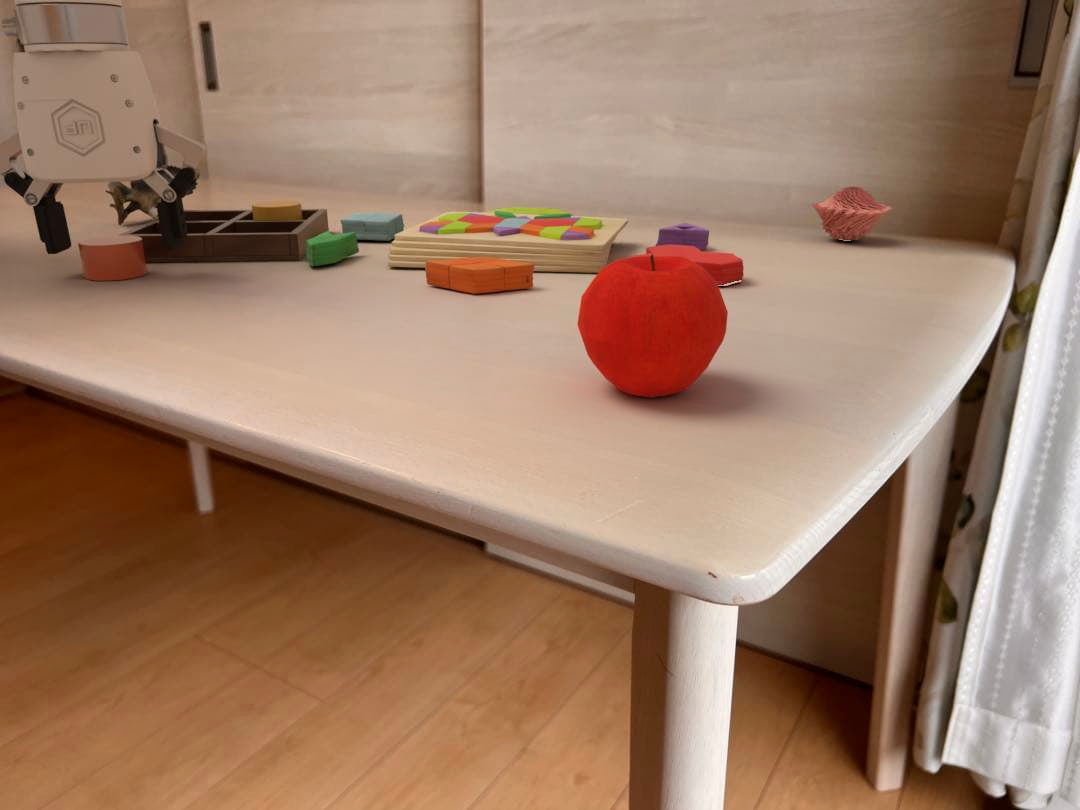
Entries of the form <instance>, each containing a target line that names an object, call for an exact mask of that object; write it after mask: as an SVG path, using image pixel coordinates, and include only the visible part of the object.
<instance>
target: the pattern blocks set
mask: <svg viewBox="0 0 1080 810" xmlns="http://www.w3.org/2000/svg"><path fill="white" fill-rule="evenodd" d="M628 223H629V219H628V218H625V217H624V218H623V217H604V216H583V215H581V216H579V215H574V214H573V213H570V212H567V211H564V210H561V209H559V208H555V207H553V208H552V207H520V206H519V207H515V206H508V207H503V208H497V209H493V210H487V211H482V212H481V211H447V212H444V213H441V214H439V215H437V216H435V217H431V218H430V219H427V220H426V221H423V222H421V223H418V224H416V225H414V226H412V227H408V228H406V229H404V228H405V223H404V219H403V214H402V213H392V212H391V213H387V212H380V213H379V212H369V211H368V212H366V211H357V212H355V213H353V214H350V215H348V216H346V217H343V218H341V219H340V224H341V231H342V233H339V234H333V233H331V231H330V230H329V231H327V232H324V233H322V234H319V235H318V236H316V237H314V238H311V239H309V240H307V241H306V244H307V254H306V262H307V263H308V264H309V265H310V266H311V267H319V266H324V265H330V264H331V265H332V264H336V263H338V262H340V261H342V260H344V259H346V258H347V257H352V256H353V255H355V254H358V253H359V252H360V248H359V244H358V240H366V241H385V242H388V241H391V240H392V239H394V240H393V241H391V247H390V248H389V254H388V261H387V266H388V267H391V268H414V269H415V268H417V269H425V270H424V271H425V278H426V284H427V285H428V286H434V287H439V288H444V289H450V290H453V291H457V292H463V293H469V294H474V295H475V294H476V295H477V294H486V293H499V292H503V291H504V292H505V291H515V290H524V289H526V290H527V289H532V288H533V286H534V272H547V273H548V272H551V273H553V272H554V273H555V272H556V273H560V272H561V273H590V274H592V273H593V274H598V273H599V272H600V270H601V269H602V268H603V267H605V266H607V265H608V260H609V255H610V252H611V247H612V245H613V243H614V242H615V240H616V238H617V236H618V235H619V234H620V233H621V232H622V231H623V229H624V228H625V227H626V226H627V225H628ZM709 237H710V230H709V229H706V228H703V227H702V226H698V225H694V224H691V223H687V222H683V223H680V224H679V223H678V224H675V225H671V226H666V227H662V228H659V230H658V236H657V241H656V243H655V245H653V246H647V247H645V253H641V254H635V255H634V254H633V255H631V256H629V258H631V257H640V256H649V257H650V256H651V255H652V254H653V257H663V256H680V257H684V258H686V259H688V260H691V261H693V262H695V263H697V264H698V265H700V266H702V267H703V268H704V269H706V270H707V271H708V273H709V274H710V275H711V276H712V278H713V279H714V280H715V281H716V283H717V284H718V285H724V284H727V283H731V282H734V281H739V280H742V281H743V277H744V276H745V274H744V261H743V259H742V258H741V257H739V256H737V255H736V254H734V253H730V252H721V251H720V252H718V251H707V250H708V245H709Z"/></svg>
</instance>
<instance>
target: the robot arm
mask: <svg viewBox="0 0 1080 810" xmlns="http://www.w3.org/2000/svg"><path fill="white" fill-rule="evenodd" d="M13 1H14V6H15V7H13V15H14V16H12V17H11V18H3V19H2V21H1V29H2V31H3V33H4V34H5V36H6V37H8V38H9V37H13V38H17V39H19V41H20V45H23V48H24V52H23V51H20V52H17V51H16V52H13V66H12V67H13V69H12V70H13V72H12V73H13V75H12V76H13V93H14V106H15V115H16V122H17V123H16V124H17V129H18V130H17V131H18V132H16V133H15V134H13V135H11V136H10V137H9V138H7V139H6V140H3V141H2V142H1V143H0V176H1V177H3V181H4V184H6V186H7V187H9V188H10V189H12V190H13V191H14V192H15V193H16V194H18V195H19V196H20V197H21V198H23V201H24V203H25V204H26V205H27V206H29V207H32V209H33V210H32V211H33V214H34V218H35V222H36V223H35V224H36V227H37V231H38V236H39V240H40V241H41V243H43V244H44V245H45V246H44V247H45V251H46V253H47V254H48V255H57V254H59V253H62V252H64V251H67V250H69V249H70V248H72V240H71V235H70V231H69V226H68V222H67V216H66V212H65V207H64V205H63V203H62V201H61V200H60V201H57V199H56V196H57V195H58V193H59V191H60V190H61V188H62V186H63V185H64V184H81V183H83V184H84V183H85V184H86V183H108V182H131V181H135V180H140V179H142V180H143V181H145V182H146V183H147V184H148V185H149V186H150V187H151V188H152V189H153V190H154V191H155V192H156V193H157V194H158V195H159V196H160V198H161V202H160V203H158V204H157V208H156V210H157V212H158V218H159V223H160V229H161V235H162V240H163V246H164V249H166V250H175V249H177V248H179V247H181V246H183V245H184V239H185V238H186V237H187V226H186V220H185V214H184V210H185V209H184V203H183V199H184V198H185V197H186V196H187V195H186V193H187V192H188V190H189V189H190V188H191V187H192V185H193V184H194V183H195V182H197V181H198V179H199V178H200V173H201V170H202V168H203V165H204V162H205V160H206V156H207V154H208V148H207V146H206V145H205V144H204V143H201V142H200V141H198V140H196V139H193V138H190V137H189V136H187V135H185V134H183V133H180V132H178V131H176V130H173V129H172V128H170V127H167V126H165V125H163V124H162V121H161V118H160V113H159V109H158V106H157V101H156V98H155V95H154V91H153V88H152V86H151V83H150V80H149V77H148V74H147V71H146V68H145V66H144V63H143V60H142V57H141V55H140V52H139V51H137V50H131V46H130V42H129V37H128V30H127V24H126V20H125V19H126V18H125V13H124V9H123V2H122V0H13ZM168 148H169V149H172V150H174V151H176V152H178V153H180V154H181V155H182V156H183V162H182V165H181V170H180V171H179V172H178V174H177V175H176V176H175V177H174V176H173V175H172V174H171V173H170V172H169V171H168V170H167V166H168V165H169V157H168ZM20 155H22V159H23V163H24V166H25V169H26V172H25V170H22V169H21V167H20V164H19V163H18V161H17V159H18V157H19V156H20Z"/></svg>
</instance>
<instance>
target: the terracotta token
mask: <svg viewBox="0 0 1080 810" xmlns="http://www.w3.org/2000/svg"><path fill="white" fill-rule="evenodd" d="M119 235H120V234H119ZM77 246H78V250H79V251H78V252H79V256H80V261H81V265H82V266H81V267H82V272H83V277H84V278H85V279H86V280H89V281H95V282H96V281H97V282H112V281H122V280H123V281H124V280H129V279H136V278H139V277H142V276H145V275H147V274H148V265H147V262H146V259H145V253H144V247H143V240H142V238H141V237H138V236H126V235H120V236H117V235H104V236H96V237H90V238H85V239H82V240H80V241H78V242H77Z"/></svg>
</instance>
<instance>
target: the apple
mask: <svg viewBox="0 0 1080 810" xmlns="http://www.w3.org/2000/svg"><path fill="white" fill-rule="evenodd" d="M630 257H631V256H630ZM630 257H624V258H618V259H616V260H614V261H612V262H610V263H608V264H607V266H605V267H603V268H602V269H601V270H600V272H599V273H596V275H595V277H594V278H593V279H592V281H591V282H589V285H588V286H587V288H586V289H585V291H584V292H583V294H582V295H581V298H580V303H579V311H578V318H577V328H578V332H579V334H580V337H581V339H582V342H583V346H584V349H585V351H586V354H587V357H588V358H589V359H590V361H591V363H592V364H593V366H595V368H596V369H597V370H598V371H599V372H600V374H601V375H602V376H603V377H604V378H605V379H606V380H607V381H608V382H609V383H610V384H611V385H613V386H614V387H615V388H616V389H617V390H618V391H621V392H623V393H625V394H627V395H630V396H633V395H636V396H635V397H638V396H645V397H644V398H653V397H652V396H662V397H666V396H665V395H668V396H671V395H674V394H677V393H680V392H683V391H686V390H687V389H689V387H690V386H691V385H693V384H694V383H695V381H697V379H698V378H699V377H700V376H701V375H702V374H703V373H704V372H705V371H706V370H707V369H708V368H709V365H710V364H711V363H712V361H713V359H714V357H715V355H716V354H717V352H718V350H719V348H720V347H721V345H722V343H723V342H724V339H725V336H726V333H727V325H728V314H729V312H728V309H727V307H726V303H725V301H724V298H723V295H722V292H721V289H720V287H718V284H717V283H716V281H715V280H714V279H713V278H712V276H711V275H710V274H709V273H708V271H707V270H706V269H704V268H703V267H702V266H700V265H698V264H697V263H695V262H693V261H691V260H688V259H686V258H684V257H680V256H663V257H653V254H652V255H651V256H650V257H649V256H640V257H631V258H630ZM670 394H671V395H670Z"/></svg>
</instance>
